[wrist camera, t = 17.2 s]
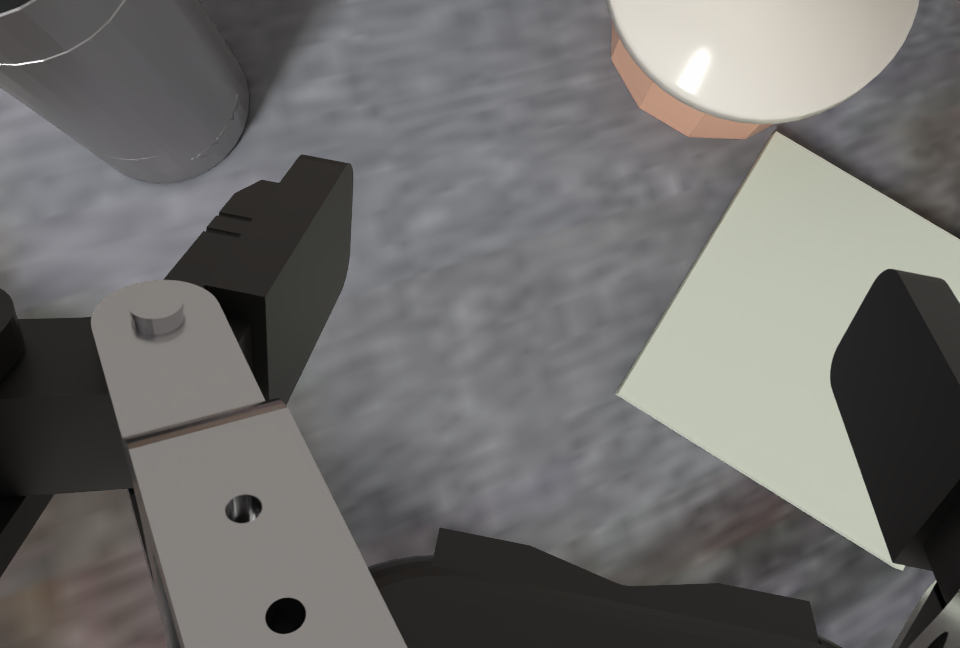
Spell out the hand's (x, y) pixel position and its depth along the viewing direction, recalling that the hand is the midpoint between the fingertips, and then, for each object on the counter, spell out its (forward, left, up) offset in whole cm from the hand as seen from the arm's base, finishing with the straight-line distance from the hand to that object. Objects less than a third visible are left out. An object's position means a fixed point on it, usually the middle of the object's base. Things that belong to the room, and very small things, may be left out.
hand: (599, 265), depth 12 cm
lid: (0, +23, -24) cm, 33 cm away
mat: (+14, +11, -30) cm, 34 cm away
